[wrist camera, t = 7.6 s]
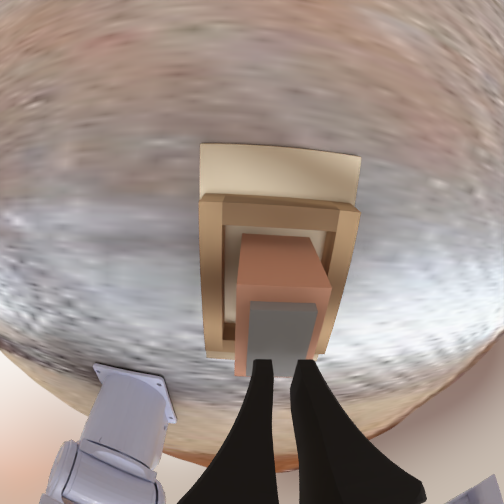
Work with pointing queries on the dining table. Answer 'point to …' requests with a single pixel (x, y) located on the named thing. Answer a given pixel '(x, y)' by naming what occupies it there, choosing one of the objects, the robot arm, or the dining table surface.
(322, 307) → the salmon block
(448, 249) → the dining table surface
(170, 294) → the dining table surface
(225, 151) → the frame
